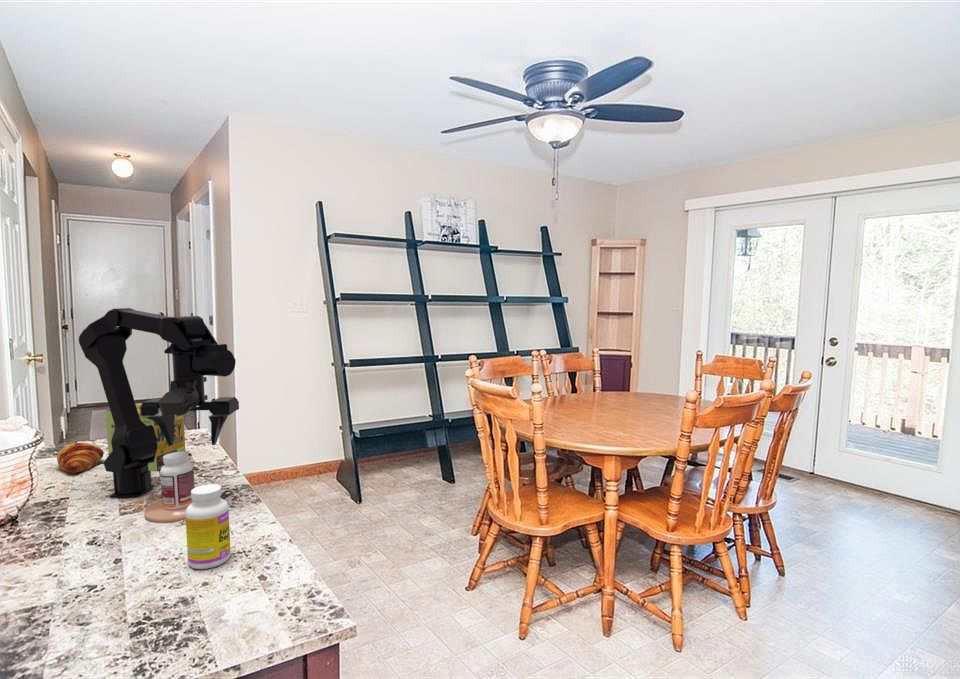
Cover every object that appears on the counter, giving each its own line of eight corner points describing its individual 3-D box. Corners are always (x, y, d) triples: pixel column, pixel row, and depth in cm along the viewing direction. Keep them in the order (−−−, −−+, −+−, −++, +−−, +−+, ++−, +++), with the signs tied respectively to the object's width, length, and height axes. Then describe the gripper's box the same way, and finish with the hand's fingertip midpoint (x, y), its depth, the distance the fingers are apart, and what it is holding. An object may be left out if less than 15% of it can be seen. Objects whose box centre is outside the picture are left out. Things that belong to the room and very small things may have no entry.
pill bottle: (196, 497, 120) (193, 448, 119) (195, 507, 114) (192, 456, 113) (163, 502, 117) (160, 452, 116) (161, 513, 111) (157, 461, 110)
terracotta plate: (131, 523, 109) (130, 519, 109) (164, 498, 122) (164, 494, 122) (197, 521, 110) (197, 516, 109) (223, 497, 122) (223, 492, 122)
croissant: (73, 468, 154) (55, 446, 151) (110, 447, 158) (92, 425, 156) (63, 490, 136) (42, 465, 133) (105, 466, 140) (85, 441, 138)
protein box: (157, 471, 140) (153, 413, 139) (108, 467, 144) (104, 410, 142) (187, 459, 150) (184, 404, 149) (141, 456, 154) (137, 402, 152)
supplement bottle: (224, 569, 91) (220, 494, 90) (182, 572, 90) (177, 497, 89) (235, 550, 97) (232, 480, 96) (196, 553, 96) (192, 483, 95)
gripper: (121, 381, 109) (126, 457, 110) (215, 380, 109) (219, 455, 111) (152, 372, 120) (157, 441, 121) (238, 371, 120) (241, 440, 122)
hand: (192, 445), depth 118 cm, fingers open, 9 cm apart
